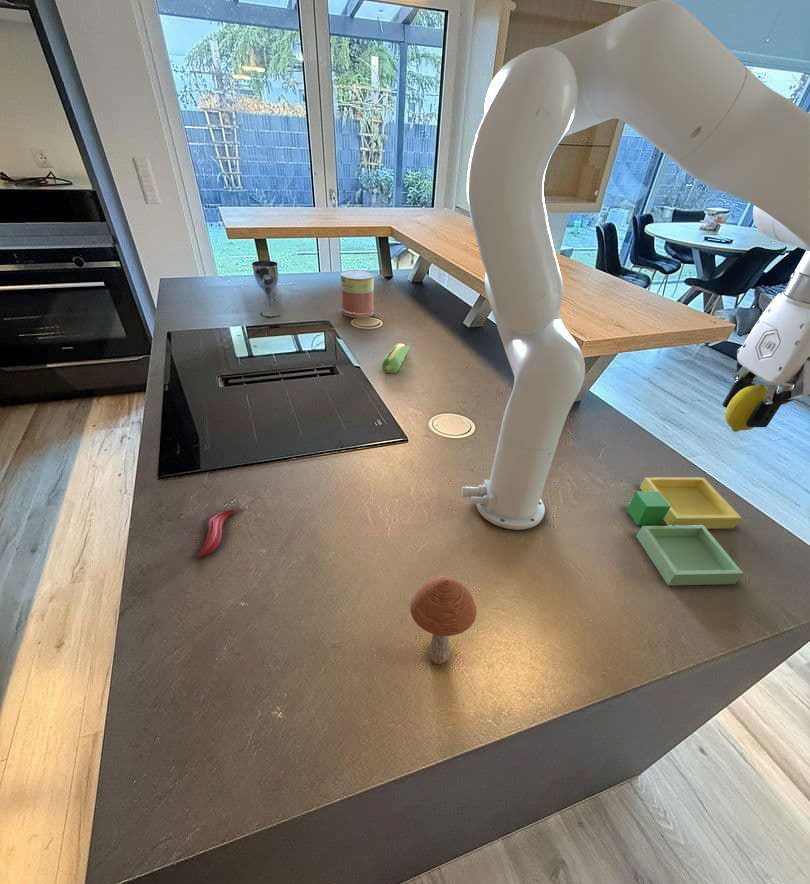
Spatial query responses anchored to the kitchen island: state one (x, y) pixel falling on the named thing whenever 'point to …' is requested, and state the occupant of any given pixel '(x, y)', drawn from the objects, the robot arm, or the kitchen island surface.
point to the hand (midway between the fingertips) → (743, 415)
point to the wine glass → (266, 276)
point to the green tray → (688, 555)
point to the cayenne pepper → (214, 532)
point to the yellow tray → (692, 503)
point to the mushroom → (443, 613)
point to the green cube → (648, 508)
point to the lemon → (744, 406)
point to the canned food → (357, 292)
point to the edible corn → (395, 358)
